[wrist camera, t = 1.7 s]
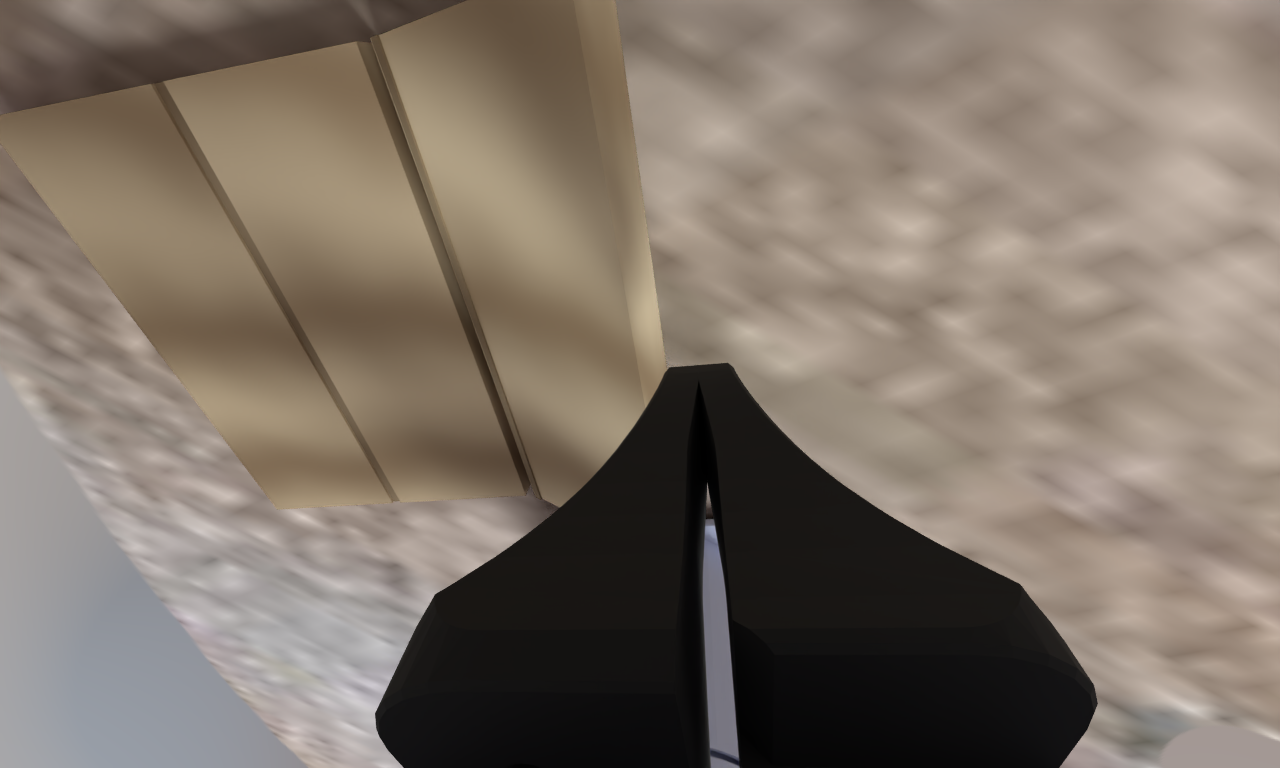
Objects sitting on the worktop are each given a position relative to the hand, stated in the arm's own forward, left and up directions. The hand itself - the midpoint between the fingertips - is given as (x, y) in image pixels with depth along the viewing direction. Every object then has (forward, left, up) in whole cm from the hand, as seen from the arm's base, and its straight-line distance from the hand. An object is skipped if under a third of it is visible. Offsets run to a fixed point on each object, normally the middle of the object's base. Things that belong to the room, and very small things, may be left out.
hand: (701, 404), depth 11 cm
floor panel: (0, +14, -7) cm, 16 cm away
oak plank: (0, +4, -5) cm, 6 cm away
